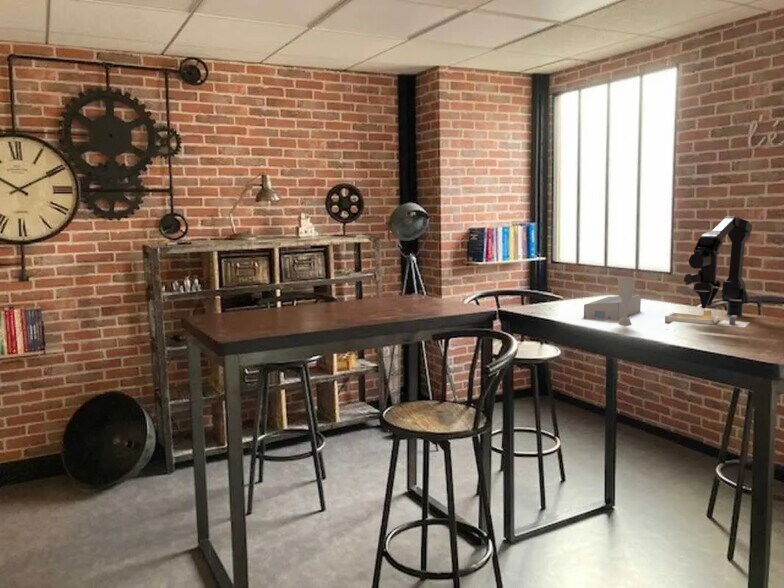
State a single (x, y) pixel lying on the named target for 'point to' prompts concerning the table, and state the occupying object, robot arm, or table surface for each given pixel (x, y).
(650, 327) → the table surface
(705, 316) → the tan notched block
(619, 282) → the chalice
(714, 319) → the tray
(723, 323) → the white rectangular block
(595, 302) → the warehouse
